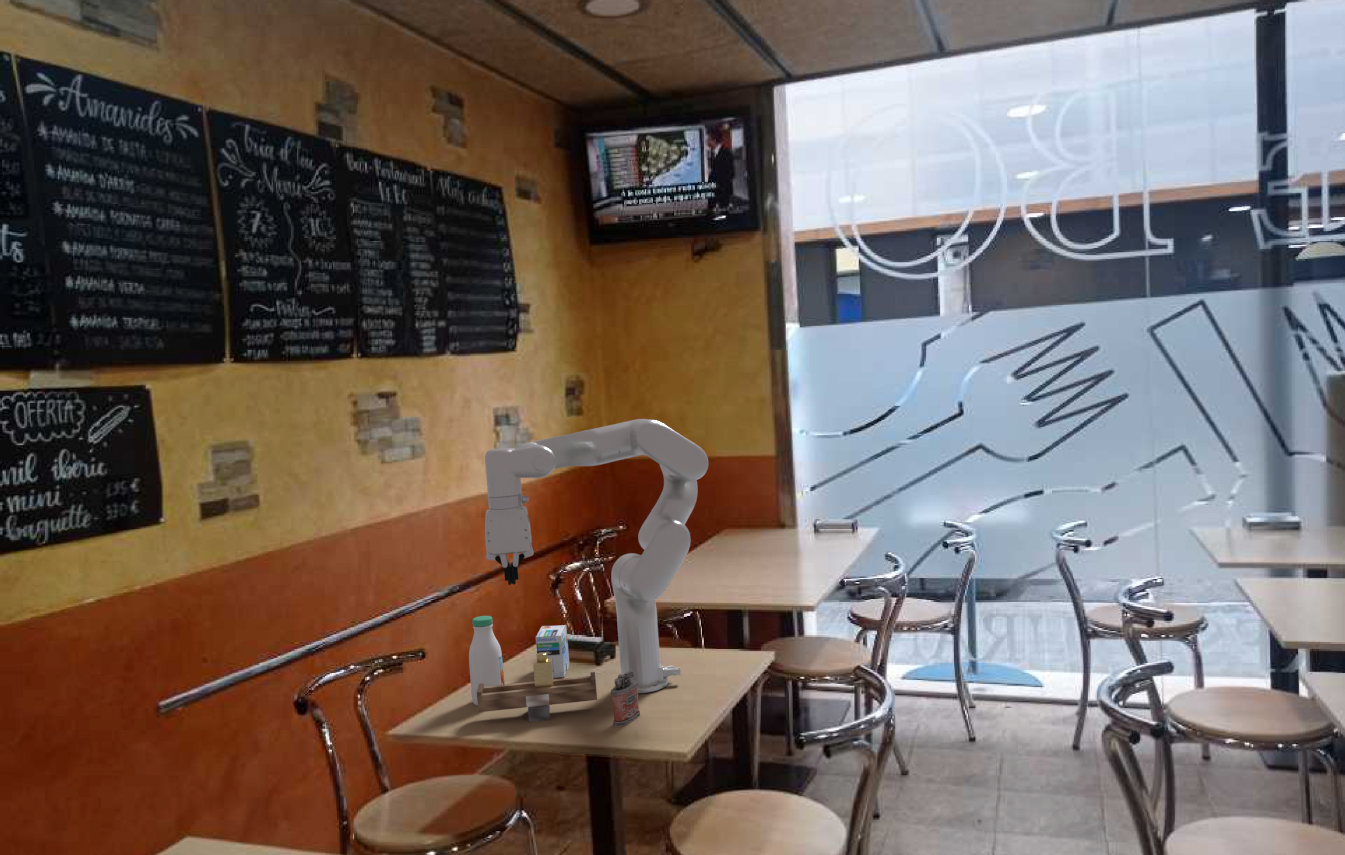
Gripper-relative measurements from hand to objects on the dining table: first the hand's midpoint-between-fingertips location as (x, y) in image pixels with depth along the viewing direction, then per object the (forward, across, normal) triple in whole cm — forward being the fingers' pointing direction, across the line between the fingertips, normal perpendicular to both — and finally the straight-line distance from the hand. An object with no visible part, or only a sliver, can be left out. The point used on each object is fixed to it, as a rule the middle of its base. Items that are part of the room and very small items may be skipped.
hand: (512, 583), depth 225 cm
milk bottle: (+29, +8, -8) cm, 31 cm away
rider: (+23, -6, +5) cm, 25 cm away
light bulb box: (+29, -7, -26) cm, 40 cm away
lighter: (+29, -23, +14) cm, 40 cm away
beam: (+29, -4, +5) cm, 30 cm away
